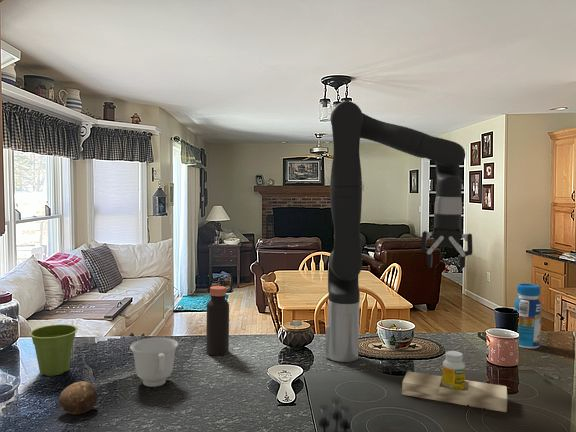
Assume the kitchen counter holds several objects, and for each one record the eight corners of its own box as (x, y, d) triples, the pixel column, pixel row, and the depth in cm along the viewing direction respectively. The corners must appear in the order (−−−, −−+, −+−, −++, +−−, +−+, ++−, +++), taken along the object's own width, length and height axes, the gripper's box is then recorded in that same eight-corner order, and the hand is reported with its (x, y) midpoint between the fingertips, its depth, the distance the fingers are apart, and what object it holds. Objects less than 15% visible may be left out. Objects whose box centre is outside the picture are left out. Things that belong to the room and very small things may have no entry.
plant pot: (22, 371, 138) (22, 330, 137) (66, 360, 147) (66, 322, 146) (40, 383, 130) (39, 340, 129) (85, 371, 139) (85, 330, 138)
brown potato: (68, 386, 121) (72, 370, 117) (100, 398, 122) (105, 383, 118) (50, 415, 114) (54, 399, 111) (84, 427, 115) (89, 412, 111)
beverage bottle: (506, 341, 172) (509, 282, 171) (530, 340, 173) (533, 282, 172) (520, 349, 164) (524, 288, 163) (545, 349, 165) (548, 287, 164)
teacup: (137, 399, 122) (137, 358, 121) (126, 378, 135) (126, 340, 134) (187, 391, 127) (187, 351, 126) (171, 370, 140) (171, 335, 140)
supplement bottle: (451, 385, 131) (452, 348, 130) (469, 392, 126) (470, 354, 126) (437, 390, 128) (438, 352, 127) (455, 397, 123) (456, 358, 122)
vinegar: (233, 351, 157) (234, 287, 156) (218, 357, 151) (219, 290, 150) (216, 347, 161) (216, 284, 159) (201, 353, 155) (202, 287, 154)
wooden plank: (401, 394, 127) (402, 381, 127) (407, 382, 135) (407, 371, 135) (506, 412, 119) (507, 398, 118) (505, 398, 126) (506, 386, 126)
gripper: (420, 212, 147) (418, 268, 148) (473, 214, 142) (471, 272, 143) (424, 210, 154) (422, 264, 155) (474, 212, 149) (472, 268, 150)
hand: (445, 268), depth 149 cm, fingers open, 8 cm apart
